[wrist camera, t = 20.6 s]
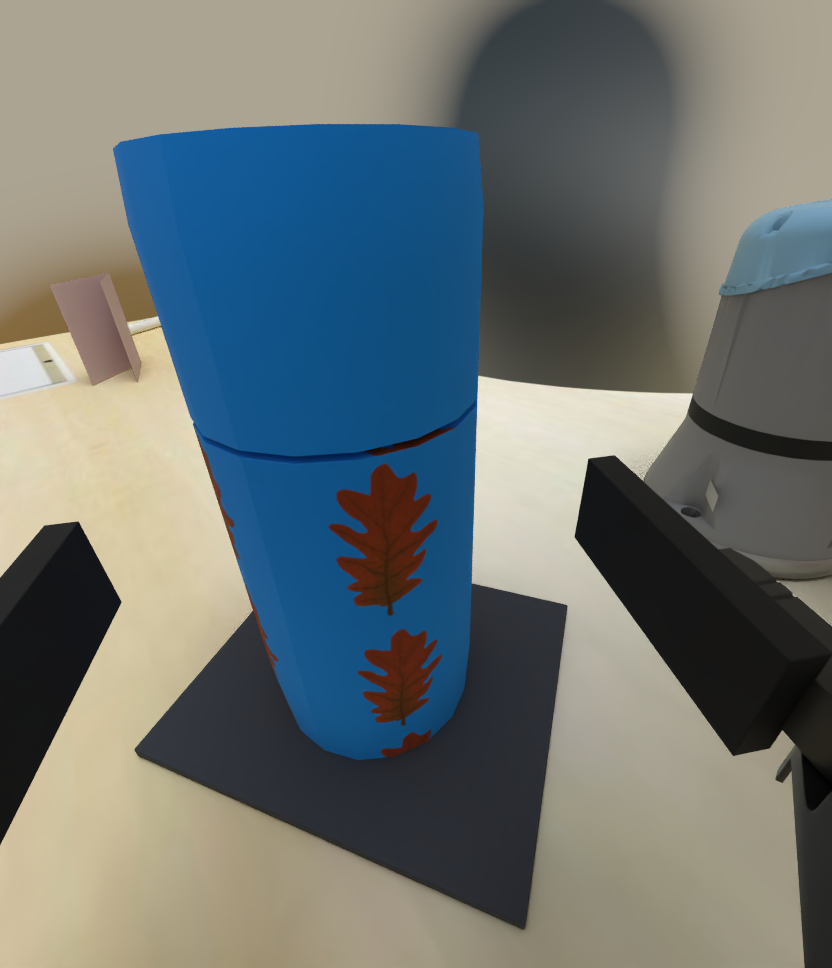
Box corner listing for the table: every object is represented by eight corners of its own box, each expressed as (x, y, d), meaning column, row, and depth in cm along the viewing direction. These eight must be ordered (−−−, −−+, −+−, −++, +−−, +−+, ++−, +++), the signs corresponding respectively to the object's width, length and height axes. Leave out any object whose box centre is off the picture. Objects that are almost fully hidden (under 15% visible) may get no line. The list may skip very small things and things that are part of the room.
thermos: (305, 803, 22) (67, 122, 8) (268, 634, 30) (121, 161, 17) (505, 708, 25) (568, 123, 12) (422, 581, 33) (403, 156, 20)
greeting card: (137, 362, 84) (103, 272, 76) (173, 363, 83) (143, 272, 75) (88, 385, 75) (44, 285, 67) (128, 386, 74) (89, 284, 66)
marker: (176, 320, 113) (173, 309, 112) (182, 320, 113) (179, 310, 111) (110, 339, 100) (106, 328, 98) (117, 340, 99) (113, 329, 98)
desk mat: (309, 551, 38) (308, 546, 37) (566, 611, 31) (567, 604, 31) (137, 755, 24) (133, 749, 24) (524, 930, 18) (525, 925, 18)
